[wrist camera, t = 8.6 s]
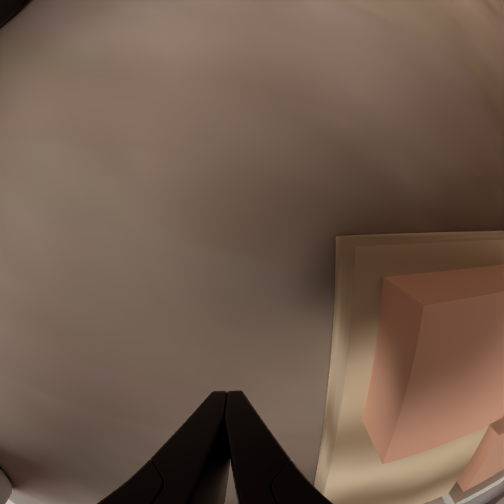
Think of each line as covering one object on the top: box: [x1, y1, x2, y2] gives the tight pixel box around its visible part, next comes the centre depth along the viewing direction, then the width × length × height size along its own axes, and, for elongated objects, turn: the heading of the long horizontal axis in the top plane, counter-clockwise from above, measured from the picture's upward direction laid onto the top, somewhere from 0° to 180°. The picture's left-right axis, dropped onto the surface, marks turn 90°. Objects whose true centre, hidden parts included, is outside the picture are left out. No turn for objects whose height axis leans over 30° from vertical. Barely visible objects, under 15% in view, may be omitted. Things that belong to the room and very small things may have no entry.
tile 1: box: [457, 416, 504, 492], centre depth 12 cm, size 6×6×2 cm
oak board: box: [314, 231, 504, 504], centre depth 12 cm, size 18×10×2 cm, turn 2°
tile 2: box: [362, 264, 504, 464], centre depth 8 cm, size 6×6×2 cm
